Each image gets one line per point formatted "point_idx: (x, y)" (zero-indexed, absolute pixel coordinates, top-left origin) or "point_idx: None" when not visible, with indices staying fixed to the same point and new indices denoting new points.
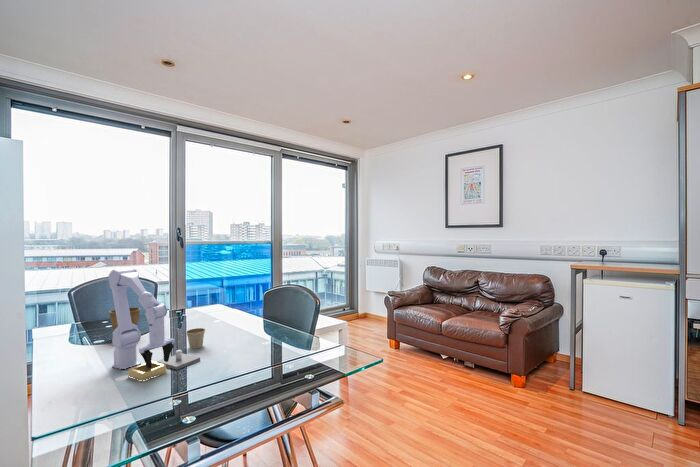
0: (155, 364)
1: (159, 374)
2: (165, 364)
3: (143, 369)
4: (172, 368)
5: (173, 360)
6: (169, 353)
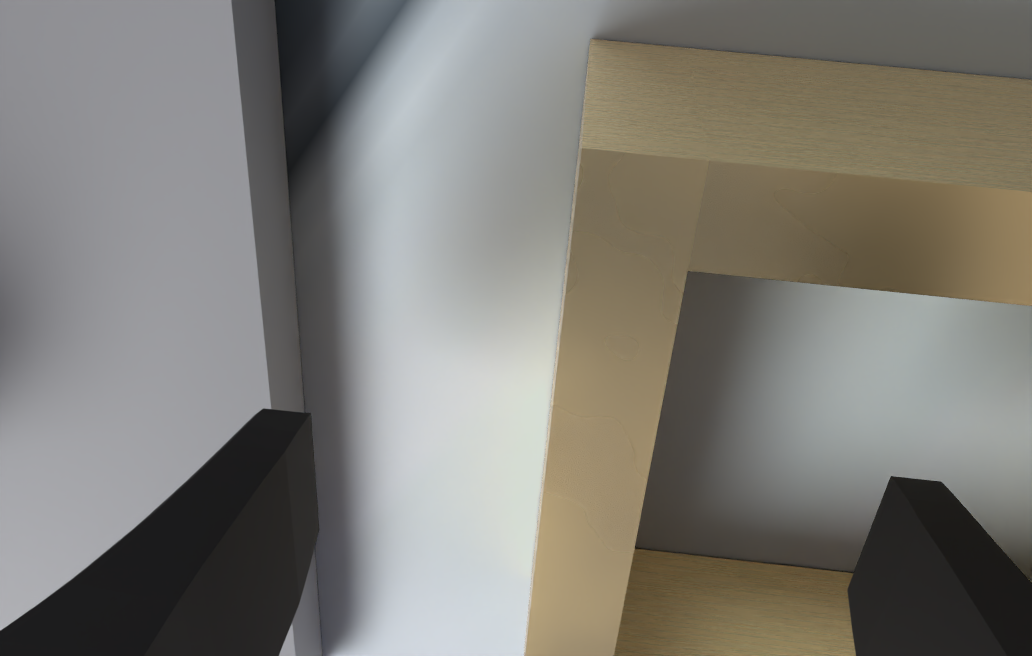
0: (632, 550)
1: (838, 74)
2: None
3: (810, 643)
4: (280, 143)
5: (23, 471)
6: (99, 601)
